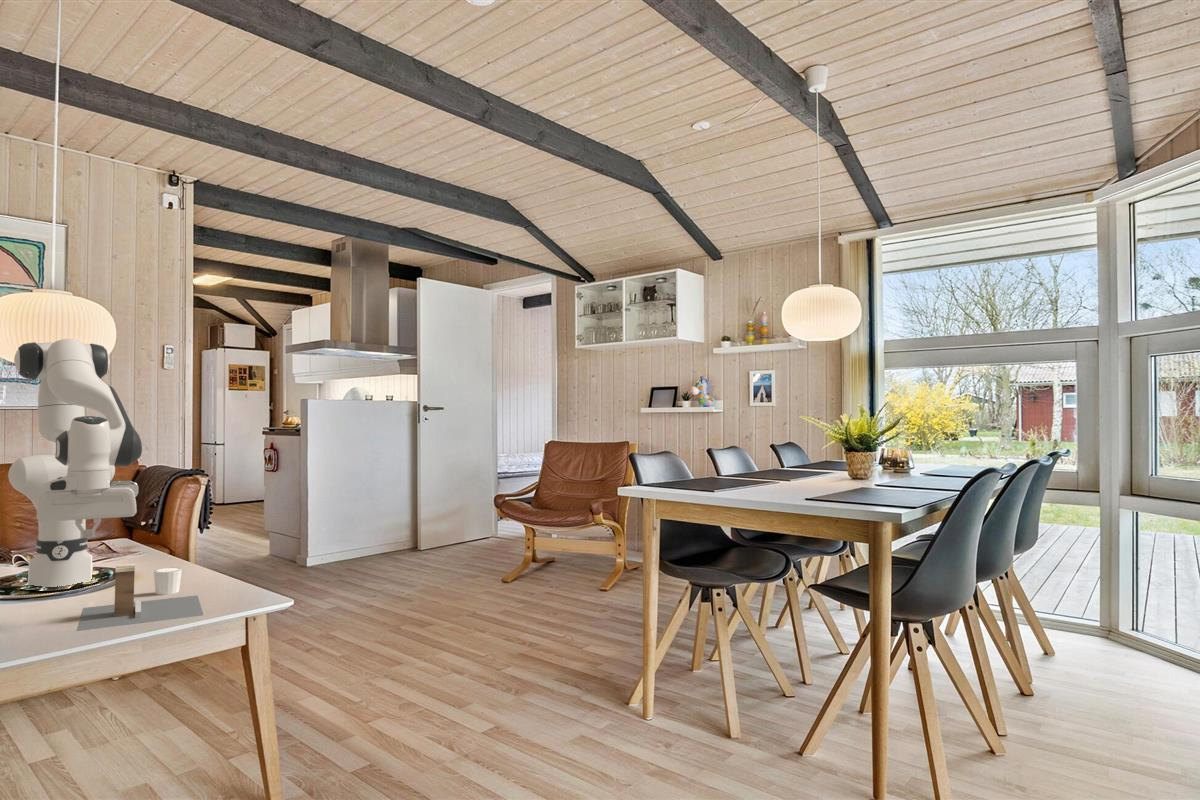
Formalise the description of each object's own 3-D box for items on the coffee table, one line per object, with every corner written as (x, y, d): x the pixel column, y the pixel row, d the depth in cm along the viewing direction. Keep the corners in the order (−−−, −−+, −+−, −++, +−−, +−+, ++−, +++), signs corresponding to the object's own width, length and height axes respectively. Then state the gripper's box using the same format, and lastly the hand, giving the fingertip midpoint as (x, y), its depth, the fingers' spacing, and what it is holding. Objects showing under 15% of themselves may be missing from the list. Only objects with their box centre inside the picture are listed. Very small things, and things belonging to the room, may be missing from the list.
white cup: (168, 598, 198) (168, 573, 198) (147, 596, 199) (147, 571, 200) (187, 592, 205) (187, 567, 205) (166, 590, 206) (167, 566, 206)
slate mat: (83, 610, 185) (83, 602, 185) (197, 597, 199) (197, 589, 199) (77, 633, 167) (77, 624, 167) (203, 617, 181) (203, 609, 181)
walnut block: (114, 612, 182) (116, 565, 182) (133, 610, 184) (134, 563, 184) (114, 617, 178) (115, 569, 178) (133, 615, 180) (134, 567, 180)
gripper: (138, 478, 185) (137, 531, 185) (39, 482, 174) (37, 538, 174) (138, 480, 180) (137, 535, 180) (36, 484, 169) (34, 542, 168)
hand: (87, 537), depth 177 cm, fingers closed
